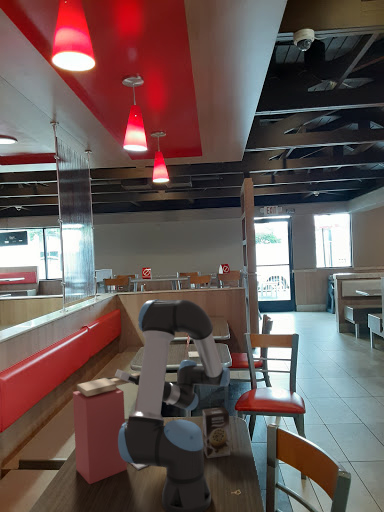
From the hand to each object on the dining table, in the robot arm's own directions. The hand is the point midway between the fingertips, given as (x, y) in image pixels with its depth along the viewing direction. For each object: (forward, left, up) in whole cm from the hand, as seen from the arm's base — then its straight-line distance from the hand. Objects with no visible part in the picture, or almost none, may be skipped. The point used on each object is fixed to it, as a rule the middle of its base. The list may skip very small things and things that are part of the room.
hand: (118, 373), depth 147 cm
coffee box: (-10, -34, -33) cm, 48 cm away
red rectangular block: (-2, +8, -33) cm, 34 cm away
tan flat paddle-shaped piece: (-1, +3, -4) cm, 5 cm away
